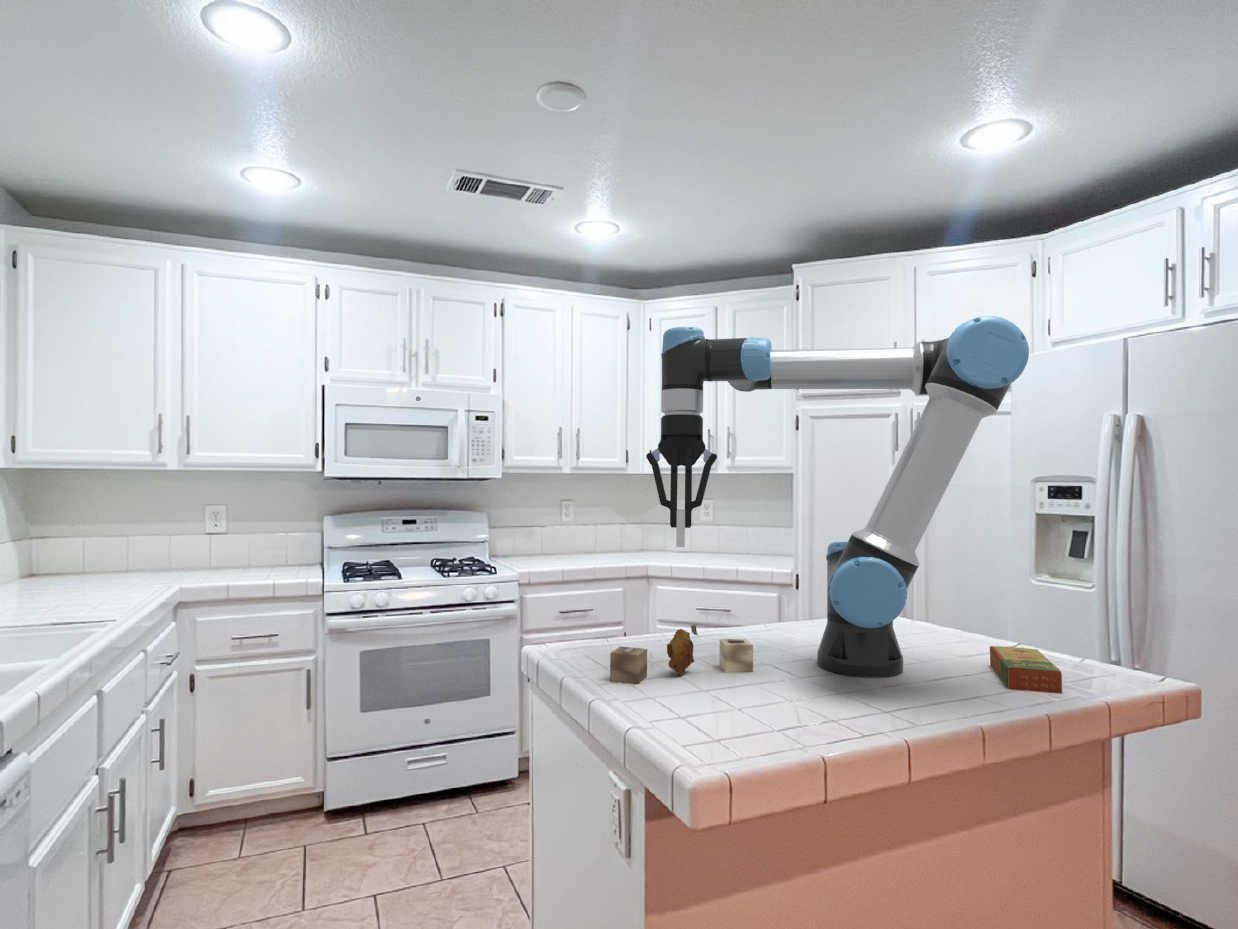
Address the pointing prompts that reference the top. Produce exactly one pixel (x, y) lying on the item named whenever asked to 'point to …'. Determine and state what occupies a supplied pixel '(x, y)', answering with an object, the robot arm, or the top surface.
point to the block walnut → (628, 665)
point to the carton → (1025, 669)
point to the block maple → (736, 655)
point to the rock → (681, 650)
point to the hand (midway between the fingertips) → (680, 546)
